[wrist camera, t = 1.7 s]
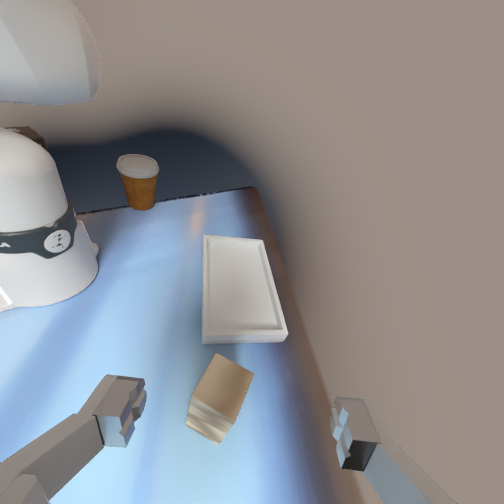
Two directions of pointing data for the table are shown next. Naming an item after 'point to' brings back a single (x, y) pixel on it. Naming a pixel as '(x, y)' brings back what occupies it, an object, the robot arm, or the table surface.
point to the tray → (239, 293)
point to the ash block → (218, 398)
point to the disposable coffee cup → (138, 179)
